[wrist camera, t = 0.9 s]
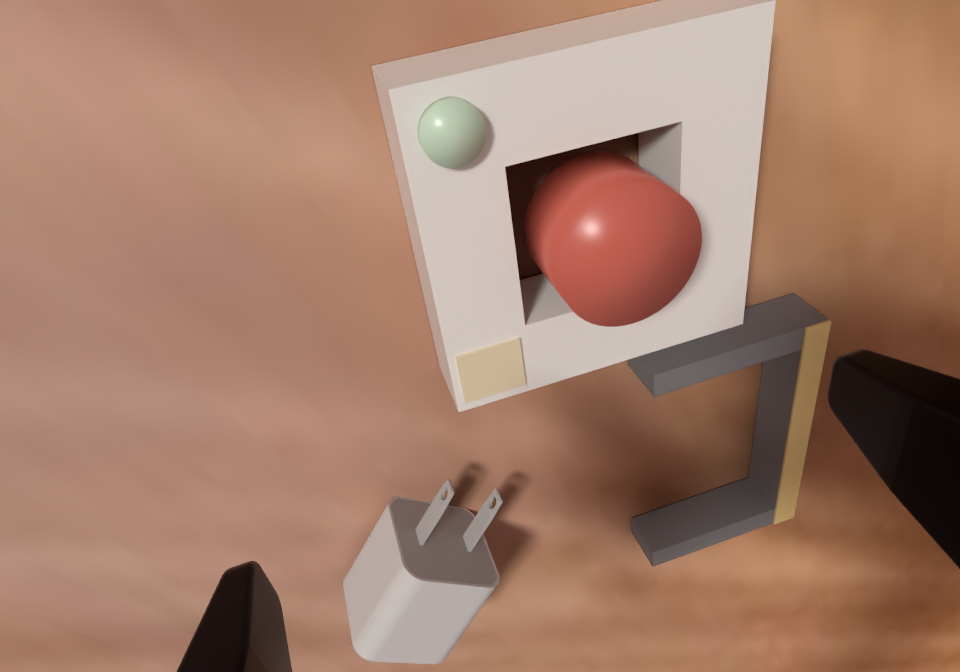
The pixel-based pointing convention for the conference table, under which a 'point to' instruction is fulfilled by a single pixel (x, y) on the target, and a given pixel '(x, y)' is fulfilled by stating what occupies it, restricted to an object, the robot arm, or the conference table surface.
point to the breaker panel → (562, 127)
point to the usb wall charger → (420, 579)
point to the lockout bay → (778, 428)
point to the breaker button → (612, 238)
